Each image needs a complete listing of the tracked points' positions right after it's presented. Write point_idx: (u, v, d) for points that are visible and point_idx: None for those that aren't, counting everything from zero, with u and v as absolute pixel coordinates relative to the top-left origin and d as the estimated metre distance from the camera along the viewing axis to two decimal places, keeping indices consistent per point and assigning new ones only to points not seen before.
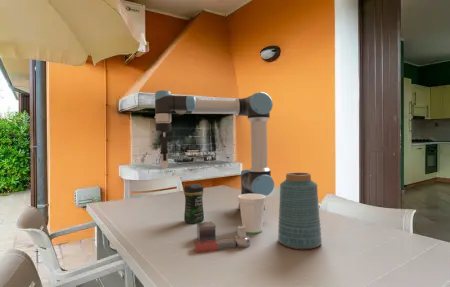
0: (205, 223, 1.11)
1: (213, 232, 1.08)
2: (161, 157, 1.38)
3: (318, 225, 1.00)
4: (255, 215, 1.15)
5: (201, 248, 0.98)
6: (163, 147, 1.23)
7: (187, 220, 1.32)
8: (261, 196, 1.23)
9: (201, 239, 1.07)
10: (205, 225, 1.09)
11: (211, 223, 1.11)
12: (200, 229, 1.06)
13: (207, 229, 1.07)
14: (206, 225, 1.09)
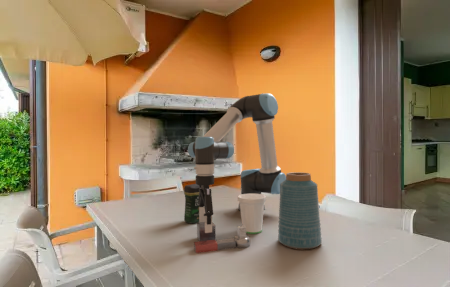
0: None
1: (213, 232, 1.08)
2: (199, 213, 1.16)
3: (318, 225, 1.00)
4: (255, 215, 1.15)
5: (201, 248, 0.98)
6: (208, 208, 1.01)
7: (187, 220, 1.32)
8: (261, 196, 1.23)
9: (201, 239, 1.07)
10: None
11: None
12: (200, 229, 1.06)
13: None
14: None
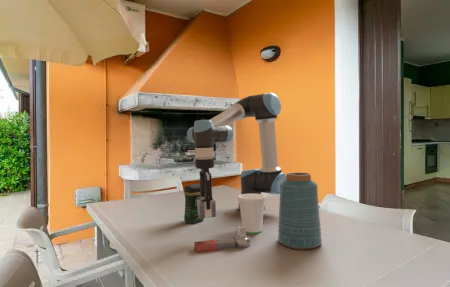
0: None
1: (214, 208, 1.08)
2: None
3: (318, 225, 1.00)
4: (255, 215, 1.15)
5: (201, 248, 0.98)
6: (207, 195, 1.04)
7: (187, 220, 1.32)
8: (261, 196, 1.23)
9: (201, 214, 1.07)
10: None
11: None
12: (200, 204, 1.07)
13: None
14: None
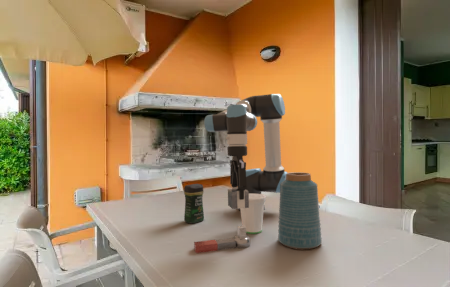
0: None
1: (247, 198, 1.01)
2: None
3: (318, 225, 1.00)
4: (255, 215, 1.15)
5: (201, 248, 0.98)
6: (241, 183, 0.97)
7: (187, 220, 1.32)
8: (261, 196, 1.23)
9: (234, 205, 1.00)
10: None
11: None
12: (233, 194, 1.00)
13: None
14: None
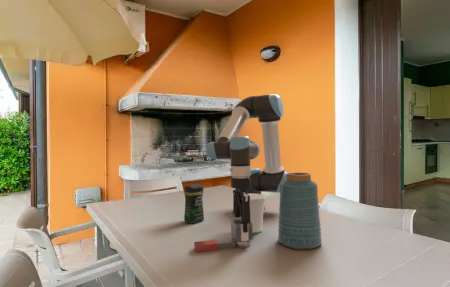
0: (240, 220, 1.05)
1: (250, 230, 1.01)
2: None
3: (318, 225, 1.00)
4: (255, 215, 1.15)
5: (201, 248, 0.98)
6: (245, 217, 0.97)
7: (187, 220, 1.32)
8: (261, 196, 1.23)
9: (237, 237, 1.00)
10: None
11: None
12: (236, 226, 1.00)
13: None
14: None
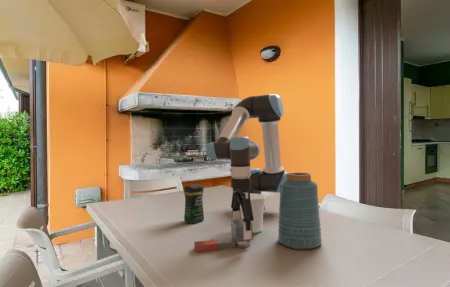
0: (240, 220, 1.05)
1: None
2: (233, 217, 1.09)
3: (318, 225, 1.00)
4: (255, 215, 1.15)
5: (201, 248, 0.98)
6: (248, 214, 0.94)
7: (187, 220, 1.32)
8: (261, 196, 1.23)
9: (237, 237, 1.00)
10: (241, 222, 1.02)
11: None
12: (236, 226, 1.00)
13: None
14: (242, 222, 1.02)
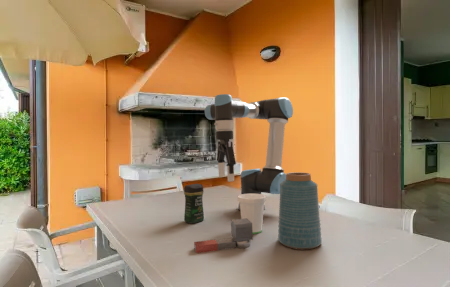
0: (240, 220, 1.05)
1: (250, 230, 1.01)
2: (219, 168, 1.25)
3: (318, 225, 1.00)
4: (255, 215, 1.15)
5: (201, 248, 0.98)
6: (230, 159, 1.09)
7: (187, 220, 1.32)
8: (261, 196, 1.23)
9: (237, 237, 1.00)
10: (241, 222, 1.02)
11: (247, 220, 1.04)
12: (236, 226, 1.00)
13: (244, 226, 1.00)
14: (242, 222, 1.02)
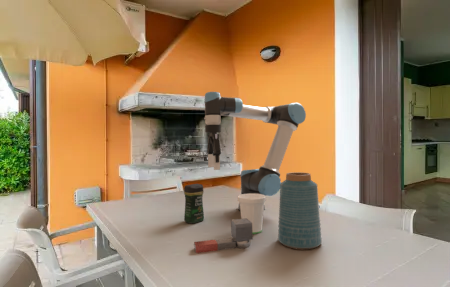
0: (240, 220, 1.05)
1: (250, 230, 1.01)
2: (208, 159, 1.37)
3: (318, 225, 1.00)
4: (255, 215, 1.15)
5: (201, 248, 0.98)
6: (216, 149, 1.22)
7: (187, 220, 1.32)
8: (261, 196, 1.23)
9: (237, 237, 1.00)
10: (241, 222, 1.02)
11: (247, 220, 1.04)
12: (236, 226, 1.00)
13: (244, 226, 1.00)
14: (242, 222, 1.02)
